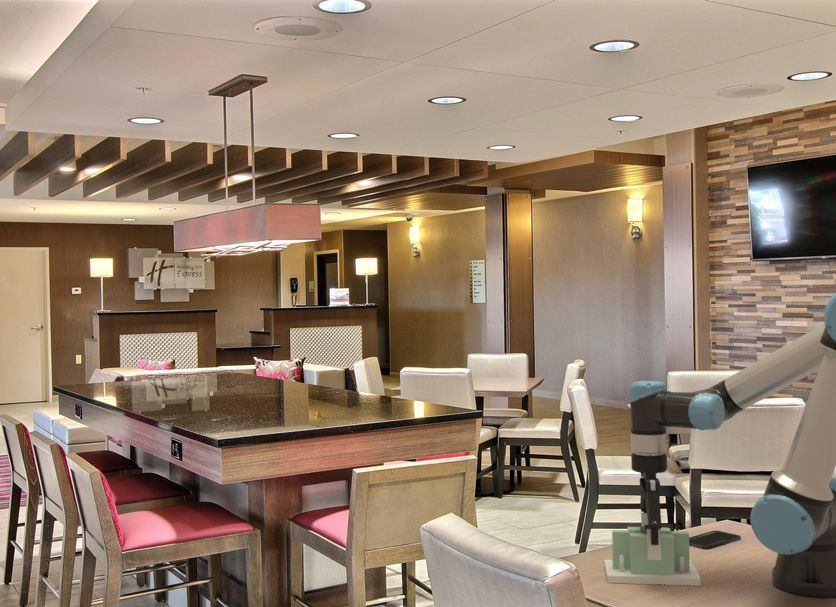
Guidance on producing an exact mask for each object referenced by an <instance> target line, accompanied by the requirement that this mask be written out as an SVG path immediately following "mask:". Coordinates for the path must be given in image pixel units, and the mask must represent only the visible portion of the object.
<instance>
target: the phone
mask: <svg viewBox="0 0 836 607" xmlns="http://www.w3.org/2000/svg"><path fill="white" fill-rule="evenodd" d="M741 540H742V537H741V535H739V534H735V533H730V532H725V531H721V530H711V531H707V532H704V533H701V534H697V535H694V536H689V547H692V546H693V548H696V549H700V550H711V549H716V548H718V547H721V546H725V545H728V544H732V543H736V542H738V541H741Z"/></svg>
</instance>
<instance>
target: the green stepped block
mask: <svg viewBox="0 0 836 607" xmlns="http://www.w3.org/2000/svg"><path fill="white" fill-rule="evenodd" d="M644 527H645V526H641V525H640V526H627V529H612V530H611V534H612V535H611V537H612V538H611V539H612V541H611V542H612V546H611V547H612V560H613V569H620V561H619V557H620V555H623V556H624V569H628V570H630V572H631V574H654V575H675V572H674V571H680V563H679V558H680V557H684V570H685V571H690V565H689V562H690V546H689V538H690V533H689V532H688V531H681V530H680V531H674V530H671V529H670V527H662V528H660V529H661V560H648V549H647V529H645V528H644Z"/></svg>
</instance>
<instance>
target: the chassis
mask: <svg viewBox="0 0 836 607" xmlns="http://www.w3.org/2000/svg"><path fill="white" fill-rule="evenodd" d="M619 561H620V569H613V559H604V569H605V570H604V571H605V576H606V581H607V583H608V584H631V585H632V584H633V585H658V584H659V585H660V584H661V585H663V586H665V585H666V586H687V585H688V586H689V585H690V586H694V587H701V585H702V584H701V577H700V575H699V573H698V571H697V569H696V567H695V565H694V563H693V562H692V561H689V565H690V571H685V570H684V557H680V558H679V563H680V571H674V572H675V575H654V574H631V572H630V570H628V569H624V556H623V555H620V557H619ZM664 584H665V585H664ZM659 585H658V586H659Z"/></svg>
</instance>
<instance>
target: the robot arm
mask: <svg viewBox="0 0 836 607" xmlns="http://www.w3.org/2000/svg"><path fill="white" fill-rule="evenodd" d="M823 322H824V323H823V324H821V325H820V326H817V327H816V328H813V329H812V330H810V331H809V332H807V333H805V334H804V335H801V336H799V337H798V338H796V339H794V340H793V341H791V342H789V343H787V344H785V345H784V346H782V347H780V348H779V349H777V350H775V351H774V352H773V351H772V352H771V353H769V354H768V355H766V356H764V357H763V358H760V359H759V360H757V361H755V362H754V363H751V364H750V365H748V366H746V367H745V368H743V369H741V370H738V371H737V372H736V373H734V374H732V375H730V376H729V377H727V378H725V379H724V380H723V379H722V381H719V382H717V383H716V384H714V385H711V387H709V388H705V389H700V390H696V391H692V392H690V391H687V392H685V391H683V392H680V391H676V392H675V391H669V390H667V388H666V387H667V386H666V383H664V382H663V381H657V380H639V381H635V382H633V383H632V384H630V391H629V392H630V393H629V410H630V411H629V412H630V450H631V451H632V453H631V456H630V458H631V459H630V460H631V463H630V464H631V469H632V471H633V472H635V473H639V474H640V478H639V485H640V490H639V491H640V503H639V506H640V511H641V512H640V516H641V518H640V519H641V520H640V521H641V524H640V526H645V527H644V528H645V529H647V549H648V560H661V529H660V528H663V524H662V514H661V513H662V512H661V500H660V498H661V492H660V487H661V480H659V478H658V477H657V474H659V473H660V474H661V473H665V472H666V471H667V470H668V455H667V454H666V452H667V448H668V446H667V442H670V437H667V427H669V428H681V429H682V428H683V429H693V430H694V429H695V430H699V431H705V430H707V431H709V430H711V431H712V430H714V431H715V430H718V429H719V428H720V427H721V426H722V424H724V423H723V422H726V421H728V420H730V419H732V418H733V417H734V416H736V415H737V414H738V413H740V412H742V411H743V410H745V409H747V408H749V407H751V406H753V405H754V404H757V403H758V402H759V403H760V401H762V400H764V399H766V398H768V397H770V396H771V395H774V394H776V393H777V392H779V391H781V390H784V389H785V388H787V387H789V386H790V385H793V384H794V383H796V382H798V381H800V380H802V379H804V378H806V377H808V376H809V375H811V374H813V373H815V372H817V374H816V377H815V380H814V382H813V384H812V387H811V390H810V392H809V396H808V399H807V400H806V404H805V406H804V409H803V412H802V415H801V417H800V419H799V422H798V425H797V428H796V431H795V433H794V437H793V439H792V441H791V444H790V447H789V449H788V453H787V456H786V458H785V461H784V464H783V467H781V468H778V469H776V470H774V471H772V473H771V474H770V477H769V480H768V482H767V485H766V487H765V491H764V493H763V496H762V497H760V498H758V500H757V501H756V502H755V503H754V505H753V507H752V509H751V512H750V517H749V518H750V526H751V529H752V532H753V533H754V535H755V537H756V539H757V540H758V541H759V542H760V543H761V544H762V545H763V546H764V547H765V548H767V549H768V550H770V551H772V552H773V553H774V552H775V553H777V556H776V560H775V565H774V566H773V567H772V570H771V582H772V584H773V585H774V586H775V587H776V588H777V589H778V588H779V589H780V590H782V591H786V592H788V593H792V594H796V595H799V596H800V595H801V596H805V597H806V596H808V597H815V598H833V597H835V598H836V477H833V475H834V471H835V470H836V292H835V293H834V294H833V295H832V296H831V297H830V299H829V300H828V302H827V304H826V306H825V309H824V312H823Z"/></svg>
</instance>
